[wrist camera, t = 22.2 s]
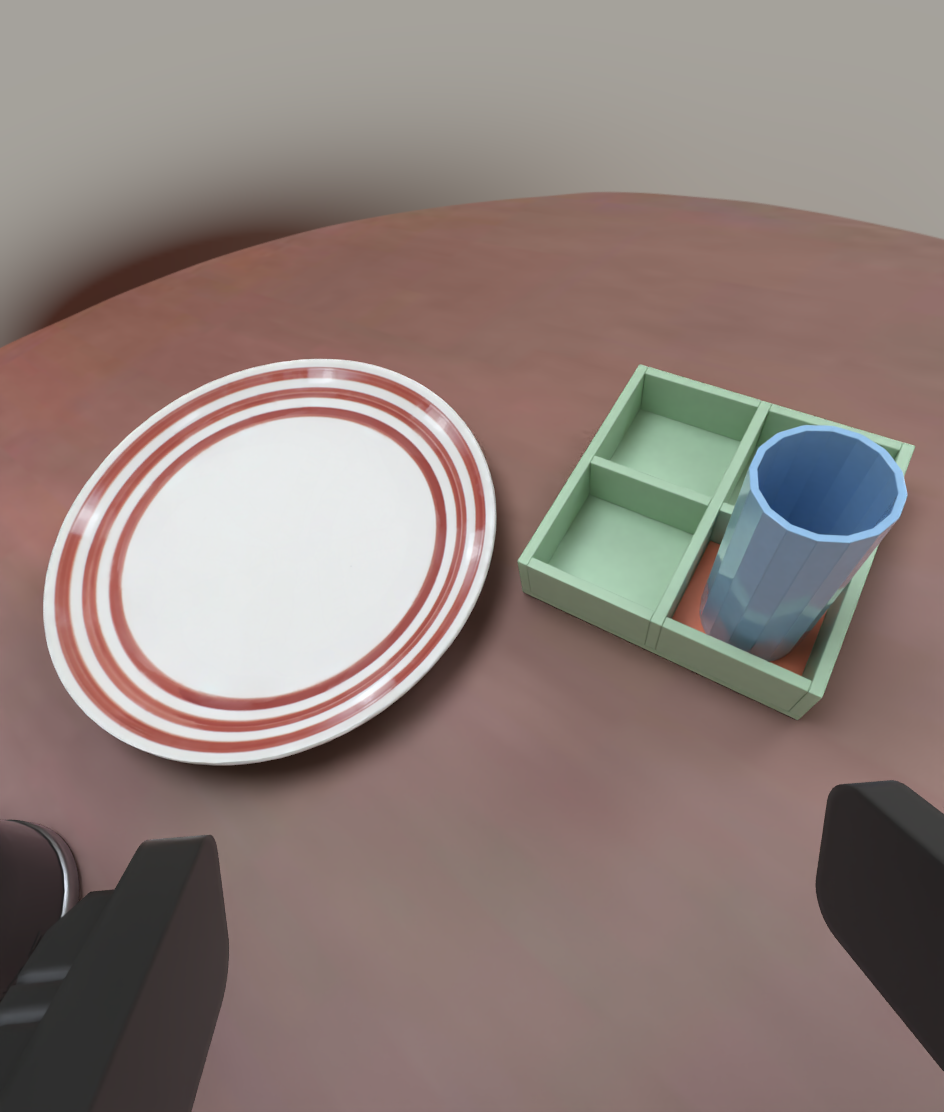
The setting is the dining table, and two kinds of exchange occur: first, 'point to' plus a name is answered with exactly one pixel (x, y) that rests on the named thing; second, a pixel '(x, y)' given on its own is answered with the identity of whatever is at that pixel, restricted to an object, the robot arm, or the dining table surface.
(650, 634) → the compartment tray
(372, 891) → the dining table surface
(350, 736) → the dining table surface
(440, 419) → the dinner plate
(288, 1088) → the dining table surface
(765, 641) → the tumbler
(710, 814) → the dining table surface
